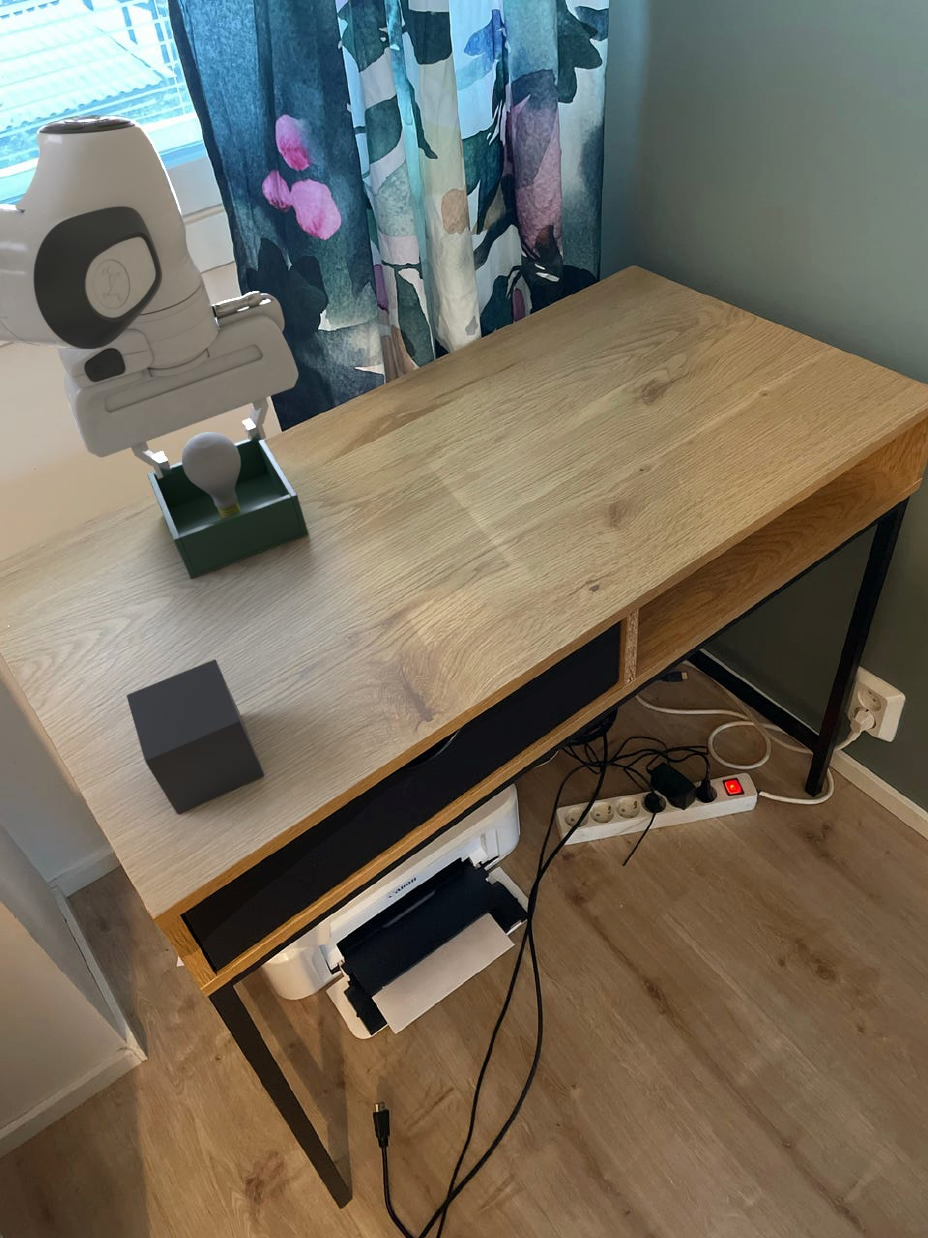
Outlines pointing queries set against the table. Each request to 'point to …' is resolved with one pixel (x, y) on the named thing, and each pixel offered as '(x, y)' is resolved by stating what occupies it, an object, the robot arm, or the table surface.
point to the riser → (194, 736)
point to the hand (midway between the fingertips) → (211, 455)
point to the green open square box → (256, 528)
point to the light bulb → (214, 469)
